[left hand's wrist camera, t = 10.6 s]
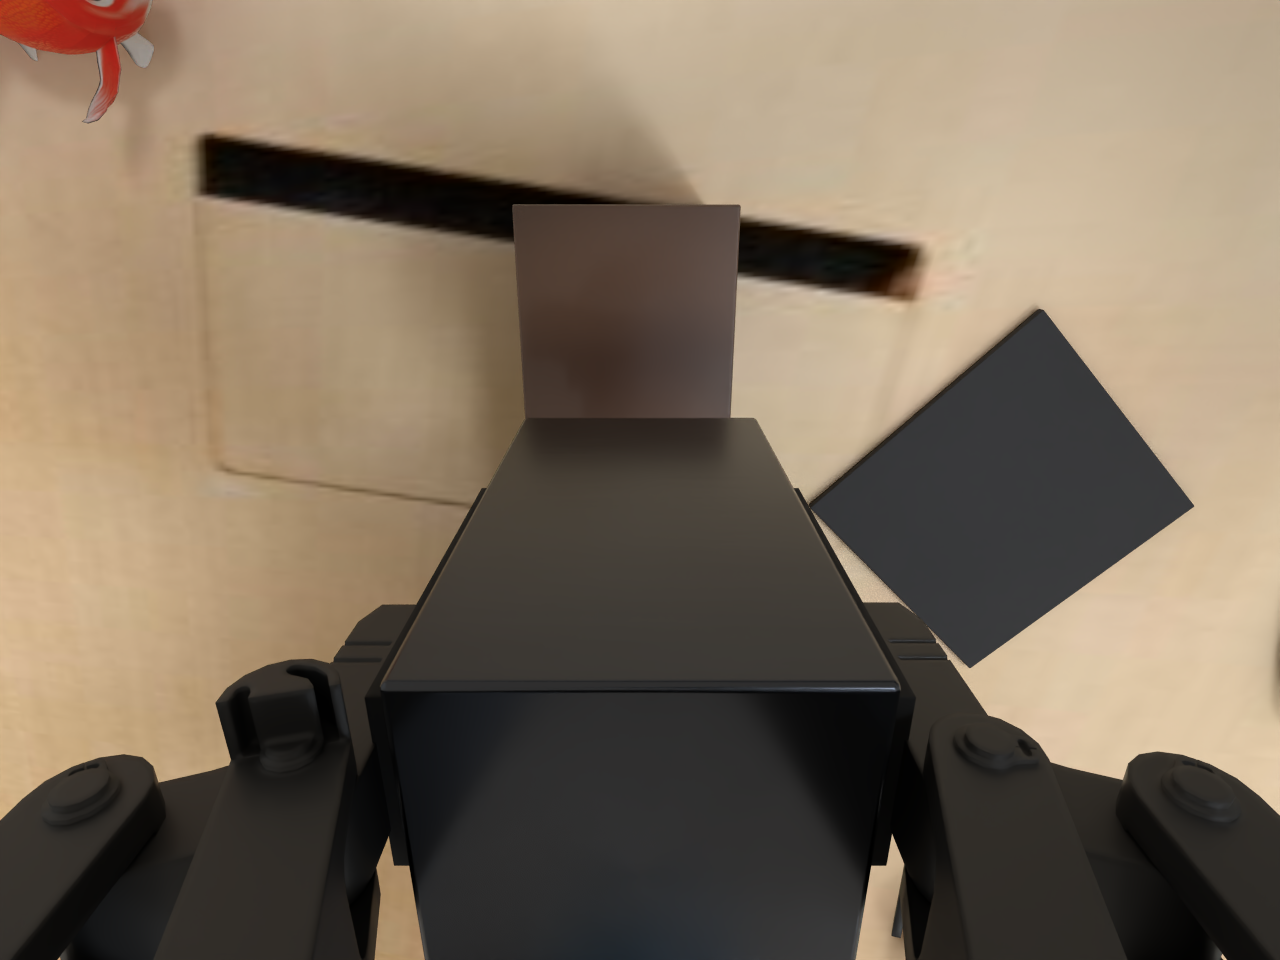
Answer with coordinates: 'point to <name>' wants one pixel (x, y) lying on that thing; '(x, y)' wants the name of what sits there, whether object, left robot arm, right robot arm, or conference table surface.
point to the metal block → (640, 709)
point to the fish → (82, 35)
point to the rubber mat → (1003, 493)
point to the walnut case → (627, 309)
